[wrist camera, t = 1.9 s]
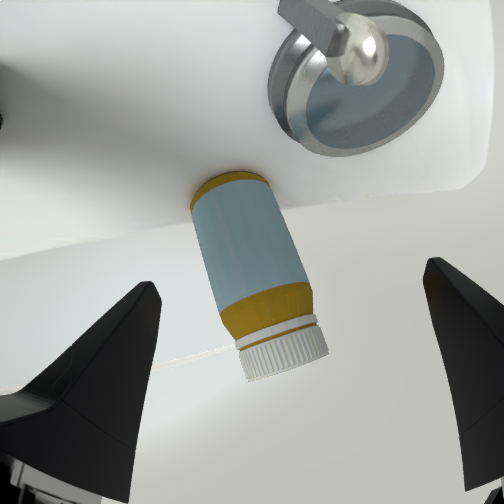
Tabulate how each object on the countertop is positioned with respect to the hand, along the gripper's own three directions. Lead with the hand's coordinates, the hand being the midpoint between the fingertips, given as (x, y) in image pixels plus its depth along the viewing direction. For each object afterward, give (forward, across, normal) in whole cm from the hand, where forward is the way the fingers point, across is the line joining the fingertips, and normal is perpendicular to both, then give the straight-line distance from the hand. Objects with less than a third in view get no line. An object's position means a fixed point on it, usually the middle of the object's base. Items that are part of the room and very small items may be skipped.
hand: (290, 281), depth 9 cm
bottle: (+16, +5, +5) cm, 18 cm away
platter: (+13, -6, -4) cm, 15 cm away
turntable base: (+14, -6, -4) cm, 16 cm away
